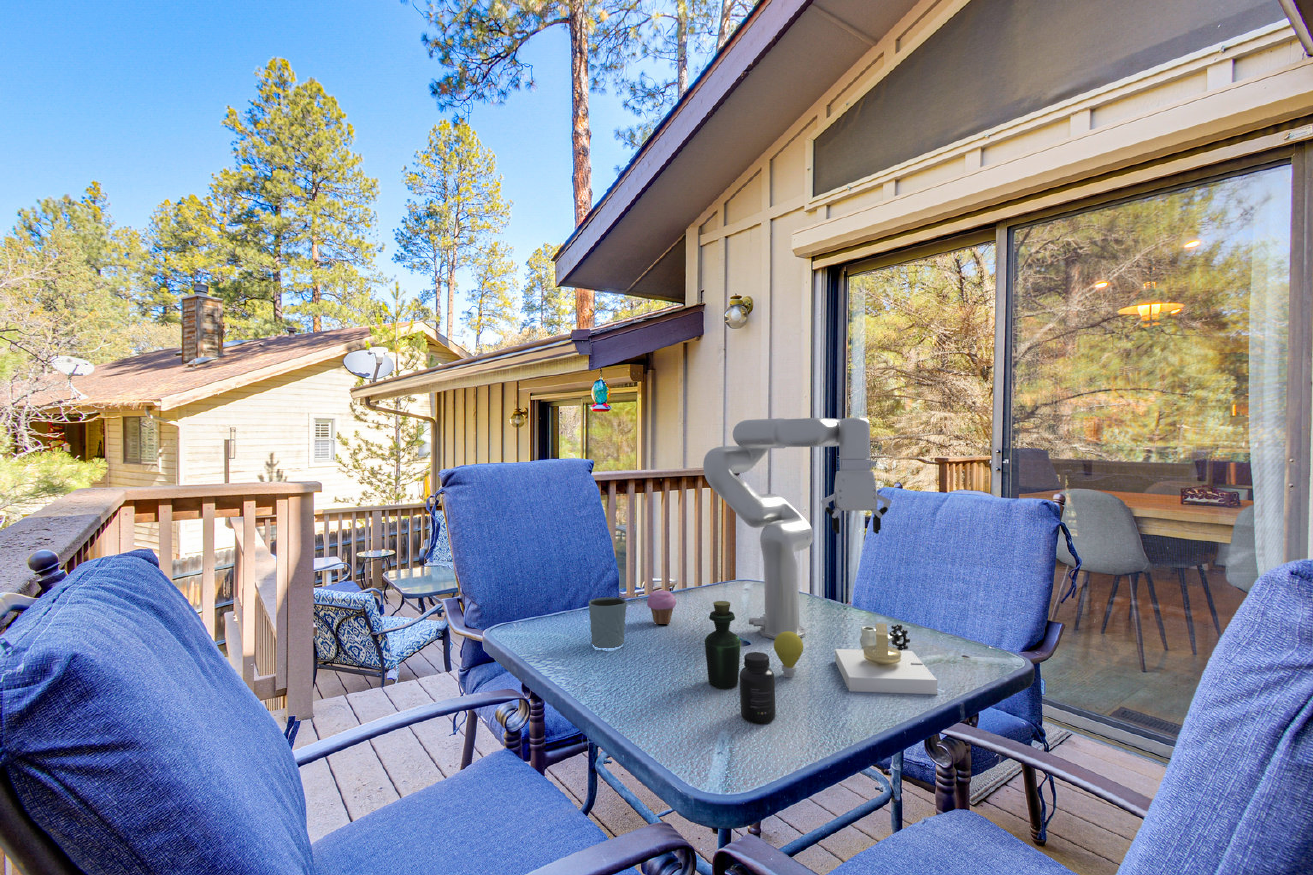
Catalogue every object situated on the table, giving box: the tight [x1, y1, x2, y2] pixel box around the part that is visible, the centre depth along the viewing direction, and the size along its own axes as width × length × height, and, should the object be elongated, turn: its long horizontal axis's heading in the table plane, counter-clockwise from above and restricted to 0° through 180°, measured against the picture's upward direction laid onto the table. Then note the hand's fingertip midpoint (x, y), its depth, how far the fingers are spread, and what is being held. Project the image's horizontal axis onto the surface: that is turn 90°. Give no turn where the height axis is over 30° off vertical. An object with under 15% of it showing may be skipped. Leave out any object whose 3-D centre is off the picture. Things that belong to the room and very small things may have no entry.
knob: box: [864, 622, 901, 664], centre depth 138 cm, size 11×8×8 cm
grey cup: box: [588, 596, 627, 648], centre depth 162 cm, size 10×10×12 cm
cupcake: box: [646, 589, 677, 625], centre depth 181 cm, size 9×9×10 cm
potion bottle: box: [703, 600, 742, 690], centre depth 135 cm, size 8×8×18 cm
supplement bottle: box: [739, 651, 777, 725], centre depth 118 cm, size 7×7×12 cm
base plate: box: [834, 648, 938, 695], centre depth 137 cm, size 18×18×3 cm
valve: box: [859, 623, 911, 651], centre depth 153 cm, size 7×7×12 cm
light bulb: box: [773, 631, 804, 678], centre depth 139 cm, size 7×7×10 cm
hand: (856, 533), depth 154 cm, fingers open, 9 cm apart
